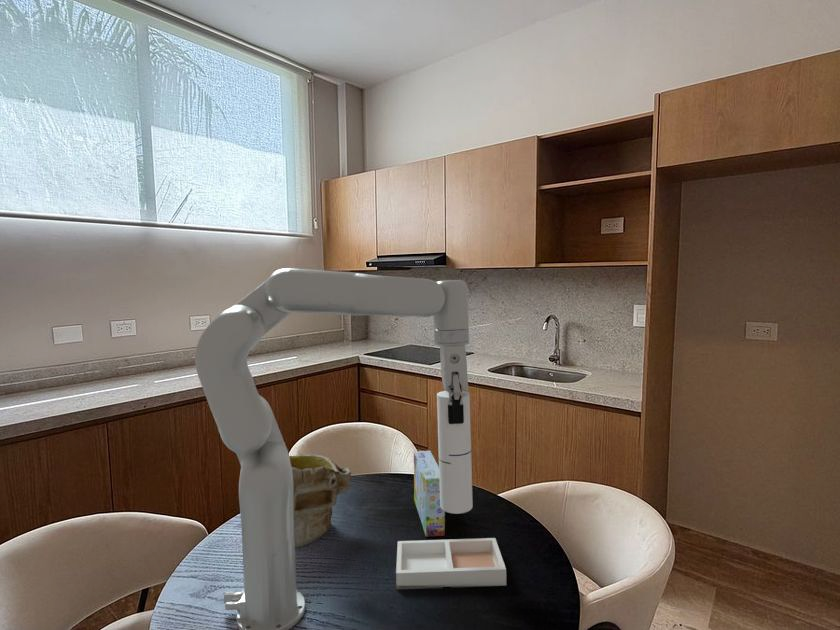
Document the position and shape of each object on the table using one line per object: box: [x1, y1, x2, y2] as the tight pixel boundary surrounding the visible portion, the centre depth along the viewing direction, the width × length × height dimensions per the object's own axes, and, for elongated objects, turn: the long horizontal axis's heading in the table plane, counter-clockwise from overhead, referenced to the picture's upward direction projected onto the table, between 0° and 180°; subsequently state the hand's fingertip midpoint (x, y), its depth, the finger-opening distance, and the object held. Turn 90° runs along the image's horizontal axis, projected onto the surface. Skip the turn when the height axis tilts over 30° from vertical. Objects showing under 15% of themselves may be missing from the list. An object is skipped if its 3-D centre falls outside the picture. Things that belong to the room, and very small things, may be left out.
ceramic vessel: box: [289, 453, 352, 549], centre depth 117 cm, size 23×24×25 cm
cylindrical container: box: [436, 390, 474, 515], centre depth 99 cm, size 7×7×25 cm
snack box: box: [413, 450, 446, 538], centre depth 123 cm, size 21×6×15 cm, turn 9°
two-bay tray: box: [395, 537, 507, 590], centre depth 100 cm, size 23×12×4 cm, turn 91°
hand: (454, 417), depth 98 cm, fingers closed on cylindrical container, 7 cm apart
